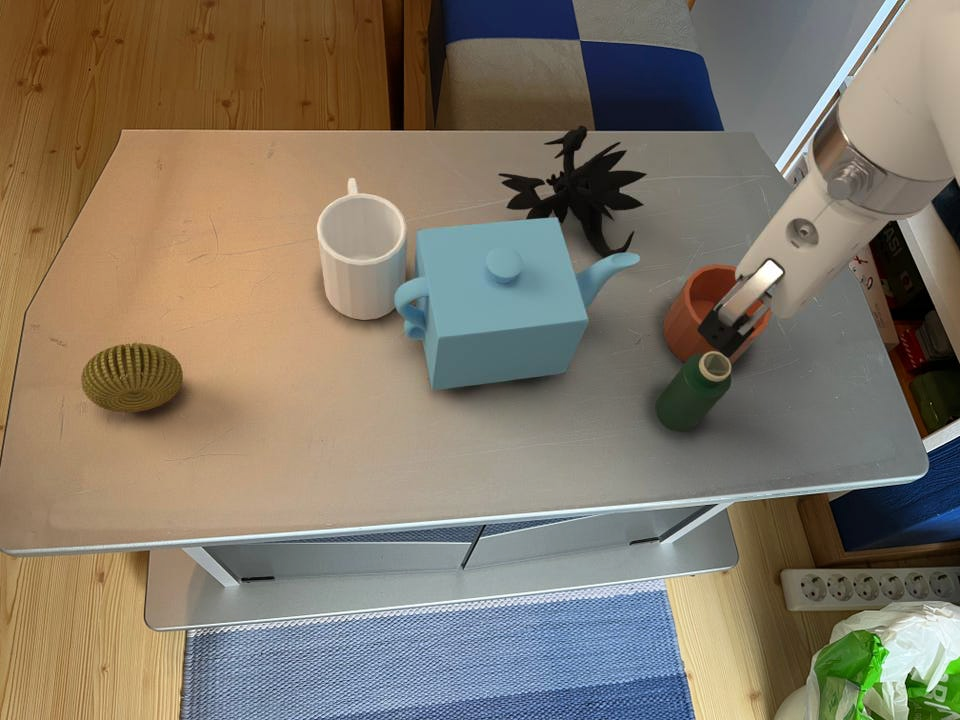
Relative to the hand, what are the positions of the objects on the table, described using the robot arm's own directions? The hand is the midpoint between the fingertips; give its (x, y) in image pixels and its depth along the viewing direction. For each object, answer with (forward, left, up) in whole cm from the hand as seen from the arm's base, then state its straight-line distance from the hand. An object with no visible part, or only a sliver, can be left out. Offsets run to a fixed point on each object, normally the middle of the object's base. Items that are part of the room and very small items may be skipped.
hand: (752, 307), depth 57 cm
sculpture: (+32, +38, -19) cm, 53 cm away
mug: (+31, +14, -19) cm, 39 cm away
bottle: (-1, 0, -18) cm, 18 cm away
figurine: (+22, -6, -19) cm, 30 cm away
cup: (+3, -9, -18) cm, 21 cm away
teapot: (+16, +8, -19) cm, 26 cm away
